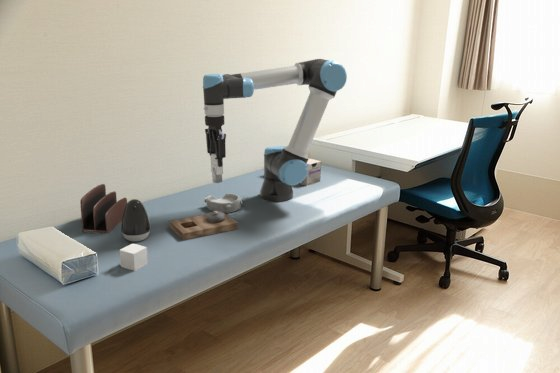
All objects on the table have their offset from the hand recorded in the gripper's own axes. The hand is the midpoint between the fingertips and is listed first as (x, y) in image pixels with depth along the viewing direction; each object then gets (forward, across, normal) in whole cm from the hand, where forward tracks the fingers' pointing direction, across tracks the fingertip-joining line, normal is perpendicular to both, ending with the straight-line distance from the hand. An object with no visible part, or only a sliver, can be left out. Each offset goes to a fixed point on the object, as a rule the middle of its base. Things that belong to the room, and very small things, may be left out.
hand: (217, 172), depth 209 cm
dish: (+18, -5, +5) cm, 19 cm away
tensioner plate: (+17, +12, -13) cm, 25 cm away
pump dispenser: (+17, +8, -38) cm, 42 cm away
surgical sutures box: (+20, -26, +57) cm, 65 cm away
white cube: (+17, +28, -45) cm, 56 cm away
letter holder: (+17, -13, -42) cm, 47 cm away
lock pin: (+4, 0, 0) cm, 4 cm away
